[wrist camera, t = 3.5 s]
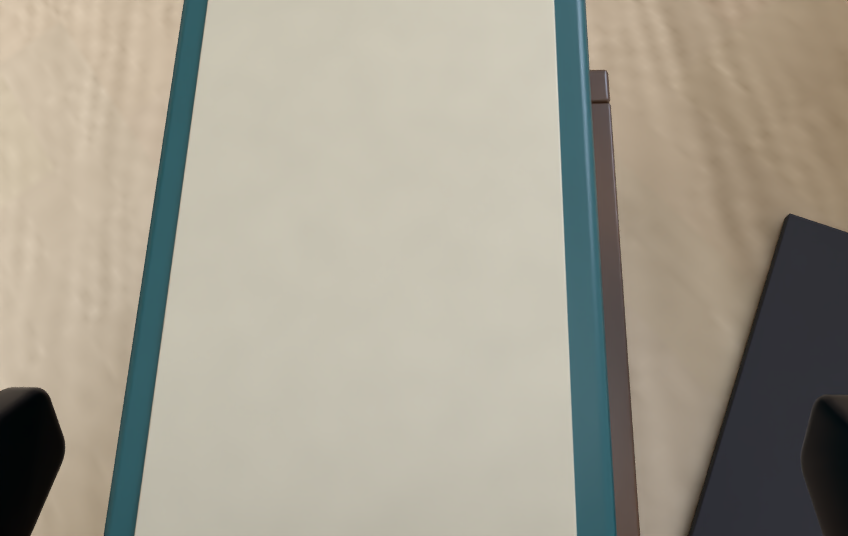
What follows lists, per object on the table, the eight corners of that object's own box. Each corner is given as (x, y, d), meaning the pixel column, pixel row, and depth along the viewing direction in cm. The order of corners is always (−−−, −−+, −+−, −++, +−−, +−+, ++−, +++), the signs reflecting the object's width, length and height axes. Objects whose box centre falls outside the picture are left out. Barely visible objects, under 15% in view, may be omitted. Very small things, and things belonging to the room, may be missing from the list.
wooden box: (602, 645, 16) (652, 705, 11) (303, 634, 17) (231, 686, 12) (579, 173, 20) (608, 67, 15) (333, 177, 20) (287, 77, 15)
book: (521, 536, 16) (630, 636, 4) (380, 533, 17) (78, 617, 4) (515, 245, 19) (574, -267, 6) (391, 246, 19) (212, -243, 6)
